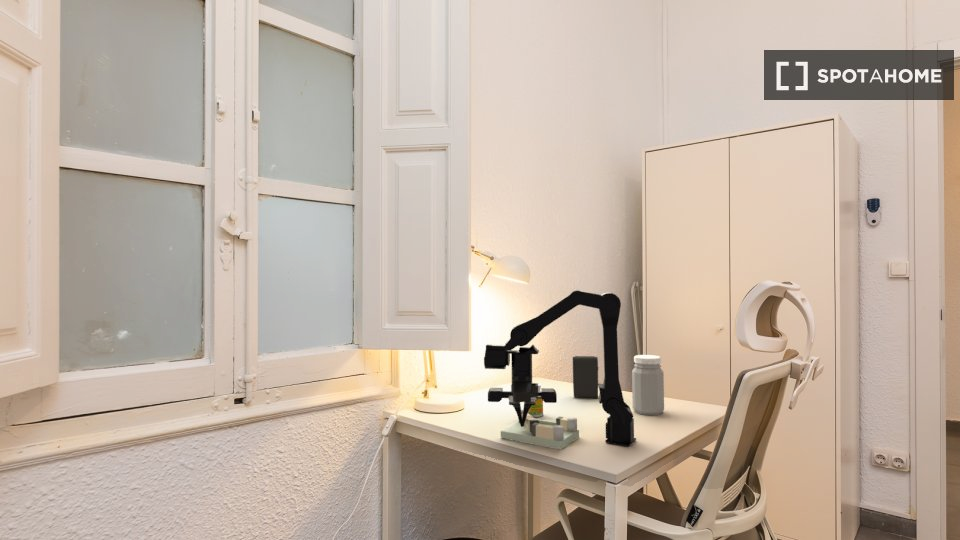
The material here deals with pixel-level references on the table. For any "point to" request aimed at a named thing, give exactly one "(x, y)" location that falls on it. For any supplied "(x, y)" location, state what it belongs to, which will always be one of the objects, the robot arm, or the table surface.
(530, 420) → the hinged leg
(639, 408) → the jar
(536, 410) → the supplement bottle
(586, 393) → the card reader
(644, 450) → the table surface
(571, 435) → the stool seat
